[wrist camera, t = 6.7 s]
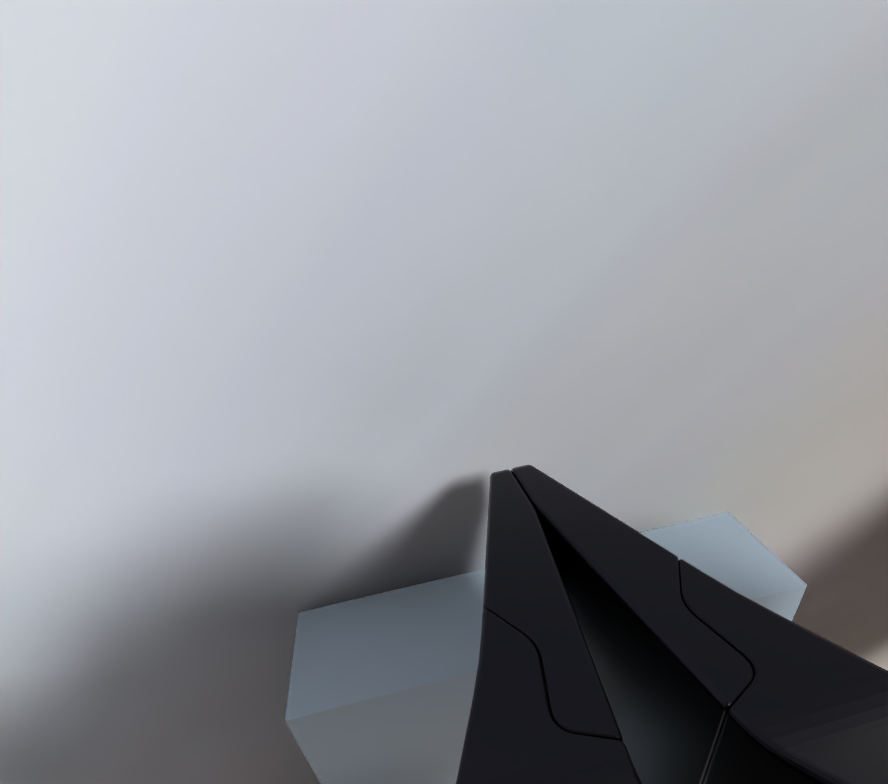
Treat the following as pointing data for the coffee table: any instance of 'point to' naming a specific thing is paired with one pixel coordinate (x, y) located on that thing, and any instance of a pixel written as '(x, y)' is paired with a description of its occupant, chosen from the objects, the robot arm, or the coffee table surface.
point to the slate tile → (452, 660)
